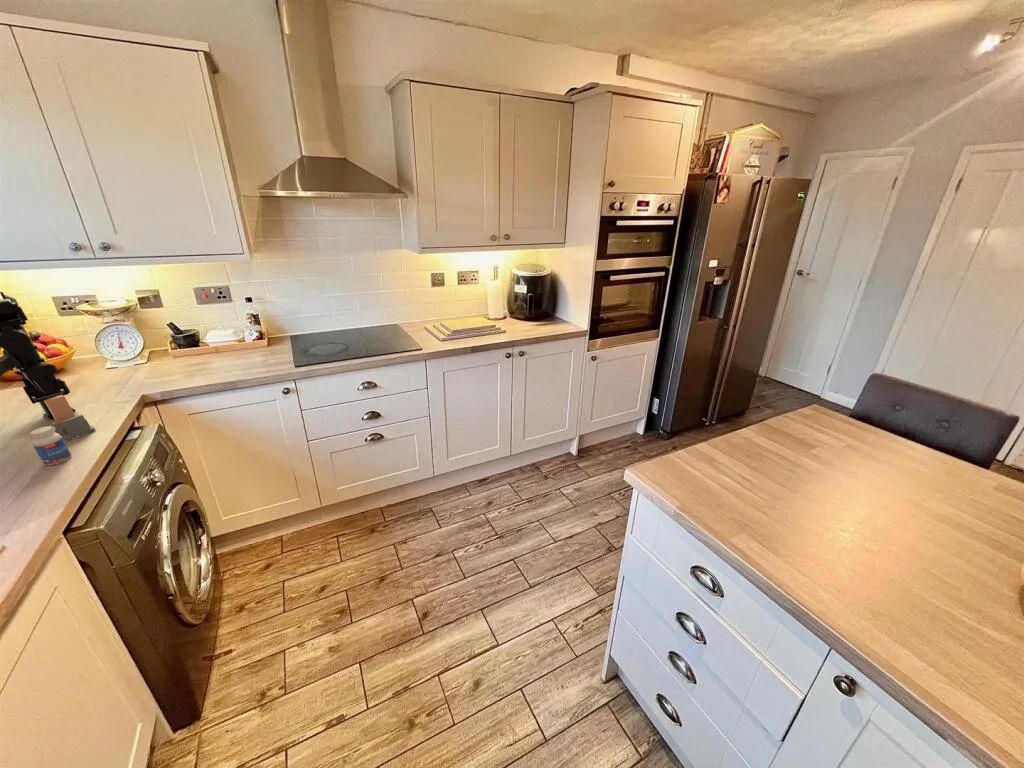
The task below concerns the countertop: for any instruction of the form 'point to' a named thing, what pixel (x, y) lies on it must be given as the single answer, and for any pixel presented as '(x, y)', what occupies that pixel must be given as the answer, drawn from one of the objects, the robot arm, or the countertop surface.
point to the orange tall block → (59, 409)
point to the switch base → (73, 427)
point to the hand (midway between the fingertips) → (45, 392)
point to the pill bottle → (50, 446)
